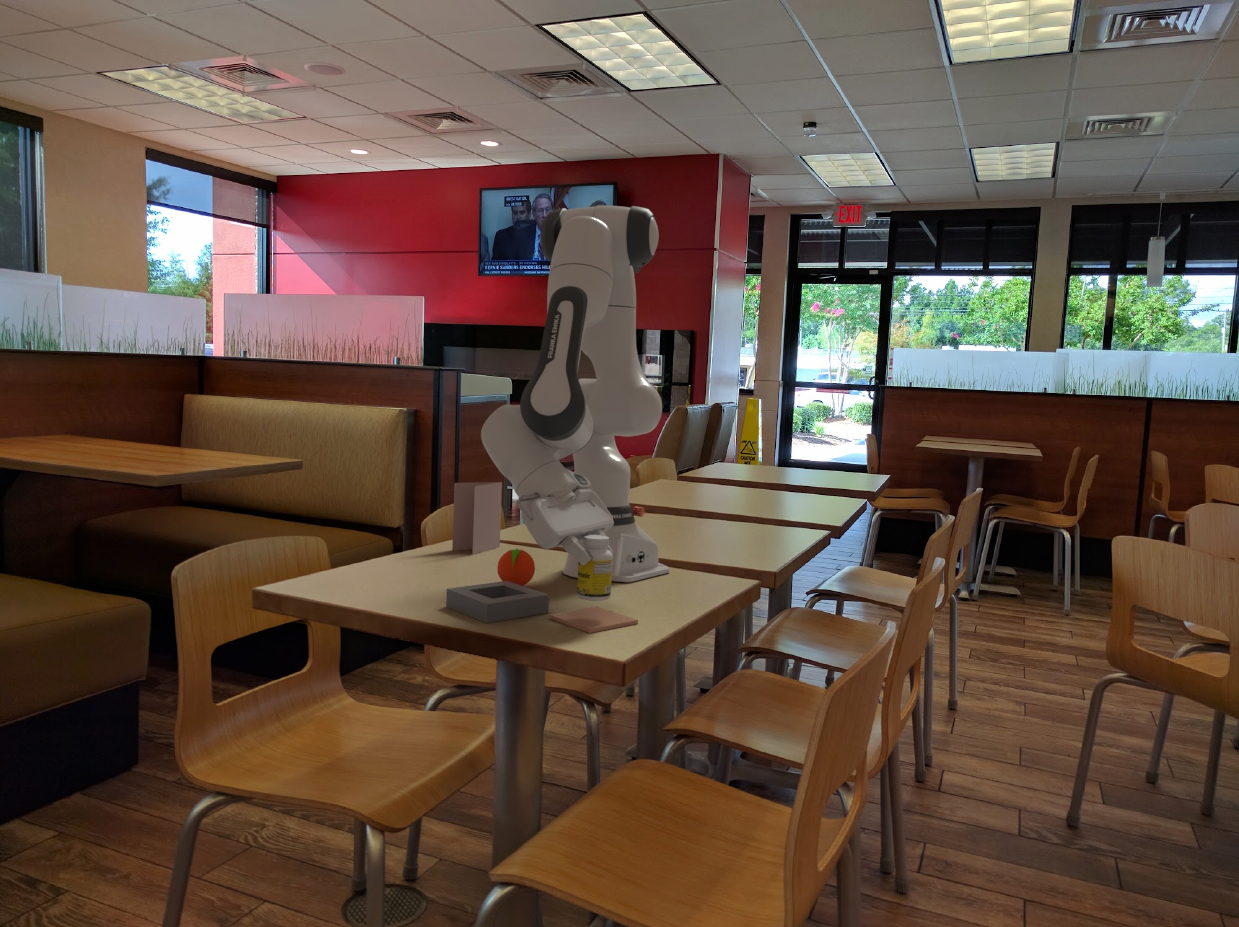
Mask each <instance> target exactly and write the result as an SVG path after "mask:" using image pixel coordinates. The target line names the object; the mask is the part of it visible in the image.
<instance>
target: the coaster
mask: <svg viewBox="0 0 1239 927" xmlns="http://www.w3.org/2000/svg"><path fill="white" fill-rule="evenodd" d="M549 619H550V620H553V621H556V622H558V623H561V624H565V625H568V626H569V627H572V628H574V629H578V630H581V631H583V632H585V633H588V634H592V633H598V632H602V631H607V630H613V629H617V628H621V627H623V628H624V627H626V626H627V627H628V626H633V625H638V624H639V620H638V619H637V618H633V617H630V616H627V615H624V614H621V613H618V612H616V611H615V612H614V611H612V610H609V609H607V608H602V607H600V606H594V607H587V608H586V607H585V608H582V609H575V610H569V611H564V612H563V611H562V612H558V613H553V614H549Z"/></svg>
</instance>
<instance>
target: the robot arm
mask: <svg viewBox="0 0 1239 927" xmlns="http://www.w3.org/2000/svg"><path fill="white" fill-rule="evenodd" d="M540 226H541V227H540V234H539V239H540V246H541V247H540V248H541V251H542V254H543V256H544V258H545V259H546V260H547V261H548V262H550V266H549V274H548V280H547V291H546V292H547V294H546V301H547V303H546V304H547V307H546V309H547V310H546V313H547V314H546V317H545V318H546V319H545V322H544V323H545V324H544V328H543V335H542V340H541V346H540V350H539V351H540V352H539V357H538V361H537V365H536V367H535V370H534V372H533V374H532V376H531V377H530V379H529V381H528V382H527V383H526V385H525V387H524V389H523V391H522V395H521V396H520V403H519V404H508V403H507V404H503V405H500V406H499V407H497V408H495V409H494V411H492V412H491V413H490V414H489V415H488V417H487V418H486V419H485V421H484V423H483V425H482V428H481V430H480V439H481V442H482V445H483V447H484V449H485V451H486V452H487V454H488V457H490V459H491V461H492V462H493V464H494V465H495V467H496V468H497V469H498V471H499V472H500V474H502V476H503V477H504V478H506V479H507V480H508V481H509V482H510V483H511V486H512V487H513V490H514V492H515V494H516V496H517V498H518V500H517V507H518V508H519V510H520V511H521V513H520V515H521V519H522V521H523V523H524V525H525V527H526V528H527V530H528V531H529V533H530V535H531V537H532V538H533V539H534V541H535V543H536V544H537V545H538V546H539V547H541V548H542V549H543V550H549V549H553V548H557V547H560V546H561V547H562V548H563V549H564V551H565V552H567V557H566V560H565V564H564V566H563V569H562V573H563V574H564V575H566V576H569V577H572V578H577V579H578V561H579V562H580V564H581V565H586V564H589V563H590V562H591V561H592V560H593V556H592V555H591V554H590V552H589V550H585V546H584V536H586V535H602V536H607V537H609V546H608V547H607V550H609V551H610V552H611V553H612V577H611V582H621V583H622V582H623V583H632V582H636V581H641V580H645V579H648V578H653V577H657V576H661V575H665V574H669V573H670V567H668V565H665V564H663V563H660V562H659V549H658V546H657V545H658V544H657V543H656V540H655V539H653V538H652V537H651V536H649V535H648V534H647V533H646V532H645V531H644V530H643V529H642V528H641V527H640V526H639V525H638V524H636V519H635V517H636V516H637V517H639V518H642V517H643V516H644V515H645V513H646V509H645V508H644V507H643V506H636V505H635V506H634V507H632V506H631V504H630V493H631V492H630V491H631V473H632V472H631V467H630V464H629V462H628V461H627V459H625V458H624V457H623V456H622V454H621V453H620V452H619V449H618V447H617V444H616V440H615V436H617V437H619V436H620V437H634V436H640V435H646V434H649V433H651V432H652V431H654V430H655V429H656V428H657V426H658V425H659V422H660V420H661V418H662V414H663V402H662V398H661V395H660V394H659V392H658V391H657V390H656V388H655V387H654V386H653V385H652V384H651V383H650V381H649V380H648V379H647V377H646V375H645V373H644V370H643V368H642V366H641V365H642V364H641V362H640V359H639V354H638V349H637V334H636V333H637V329H636V328H637V326H636V325H637V289H636V278H635V274H637V273H639V272H641V268H643V267H644V266H646V265H647V264H649V263H650V262H651V260H652V259H653V257H655V255H656V250H657V248H658V245H659V238H660V237H659V236H660V235H659V227H658V224H657V221H656V217H655V216H654V213H653V212H652V211H651V210H650V209H649V208H646V207H642V206H641V207H640V206H635V205H632V206H630V207H628V206H619V205H608V204H607V205H603V204H601V205H597V206H584V207H575V208H569V209H567V208H565V207H564V208H559V209H555V210H552V211H550V212H549V213H547V215H546V216H545V217H544V218H543V219H542V222H541V225H540ZM582 353H583V354H585V356H587V357H588V358H589V360H590V362H591V363H592V366H593V368H594V372H595V378H579V366H580V360H581V354H582ZM571 455H572V458H573V465H574V471H572V470H570V469H568V468H565V467H564V465H563V464H562V463H561V461H562V460H563V459H566V458H568V457H569V456H571Z"/></svg>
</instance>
